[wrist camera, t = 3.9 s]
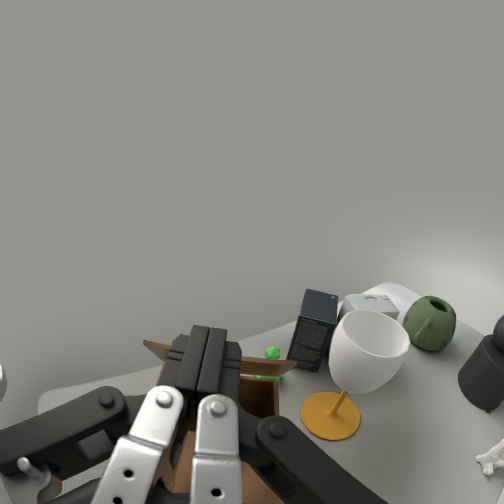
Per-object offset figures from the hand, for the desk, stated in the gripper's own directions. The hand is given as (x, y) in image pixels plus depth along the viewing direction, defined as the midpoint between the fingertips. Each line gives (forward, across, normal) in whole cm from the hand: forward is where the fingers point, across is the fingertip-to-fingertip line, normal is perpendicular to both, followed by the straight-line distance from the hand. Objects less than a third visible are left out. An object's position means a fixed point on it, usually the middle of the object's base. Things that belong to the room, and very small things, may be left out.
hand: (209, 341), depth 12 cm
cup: (+12, -16, +24) cm, 31 cm away
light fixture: (+13, -51, +24) cm, 58 cm away
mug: (+30, -41, +24) cm, 56 cm away
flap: (+9, 0, +11) cm, 15 cm away
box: (+25, -13, +24) cm, 37 cm away
